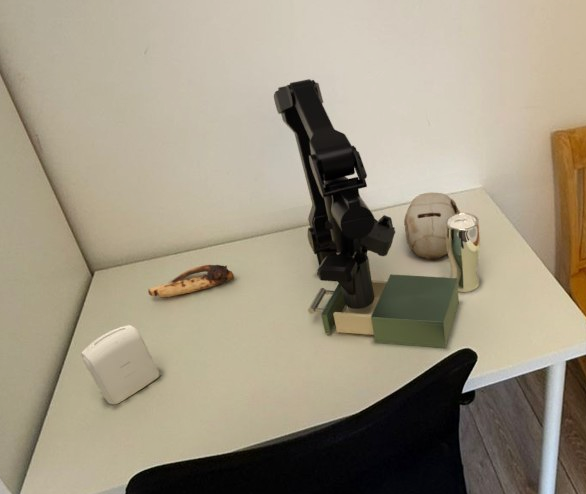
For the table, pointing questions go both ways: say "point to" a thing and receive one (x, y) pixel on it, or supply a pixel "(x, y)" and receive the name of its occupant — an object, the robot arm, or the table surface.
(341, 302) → the drawer
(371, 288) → the black cup
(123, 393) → the photo printer
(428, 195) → the coin bank
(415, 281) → the green box
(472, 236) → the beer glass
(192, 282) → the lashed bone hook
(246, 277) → the table surface
